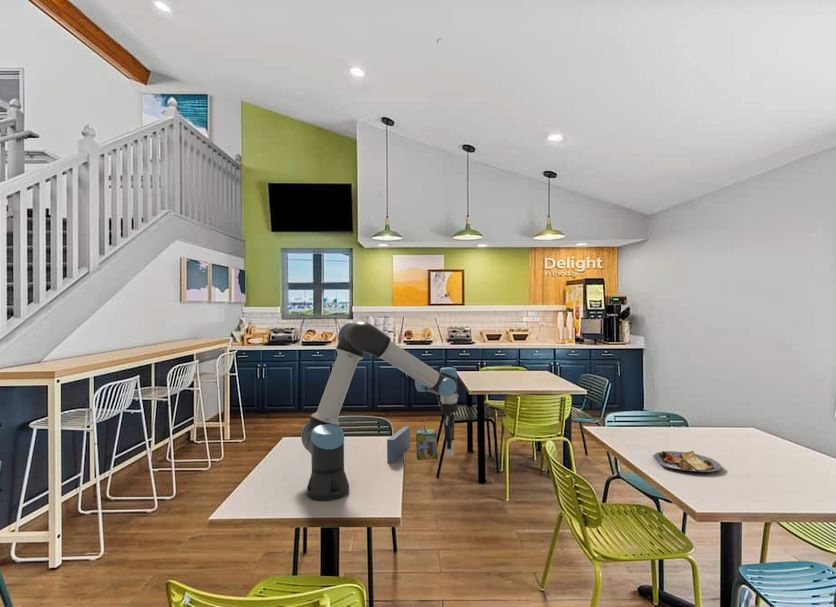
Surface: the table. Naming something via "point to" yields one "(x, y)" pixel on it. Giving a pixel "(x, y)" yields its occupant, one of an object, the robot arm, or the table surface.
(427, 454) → the chalk box
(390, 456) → the grayish blue board
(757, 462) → the table surface
